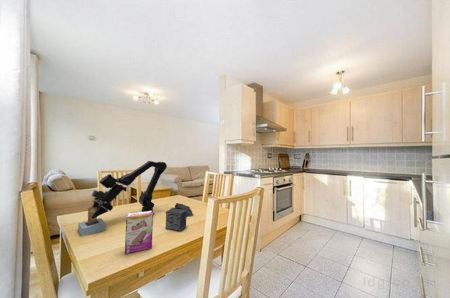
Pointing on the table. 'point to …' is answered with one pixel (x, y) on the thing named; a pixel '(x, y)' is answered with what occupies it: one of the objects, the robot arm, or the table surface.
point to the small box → (176, 219)
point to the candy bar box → (138, 231)
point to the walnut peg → (90, 214)
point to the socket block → (91, 227)
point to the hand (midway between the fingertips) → (90, 216)
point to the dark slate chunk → (183, 207)
